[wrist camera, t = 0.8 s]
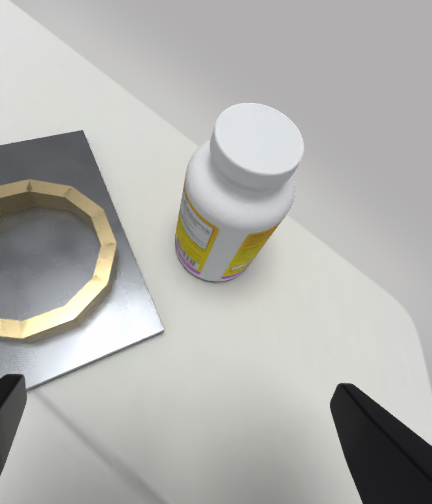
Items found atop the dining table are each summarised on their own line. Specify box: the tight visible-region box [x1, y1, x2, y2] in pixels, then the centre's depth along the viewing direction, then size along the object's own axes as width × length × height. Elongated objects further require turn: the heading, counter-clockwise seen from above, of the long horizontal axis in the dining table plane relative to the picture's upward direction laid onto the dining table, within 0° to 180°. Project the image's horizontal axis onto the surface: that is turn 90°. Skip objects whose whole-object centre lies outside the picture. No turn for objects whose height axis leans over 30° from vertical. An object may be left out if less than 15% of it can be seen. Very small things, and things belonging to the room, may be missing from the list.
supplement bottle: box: [175, 103, 304, 282], centre depth 22 cm, size 7×7×13 cm
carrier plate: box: [0, 130, 164, 391], centre depth 22 cm, size 19×15×3 cm
